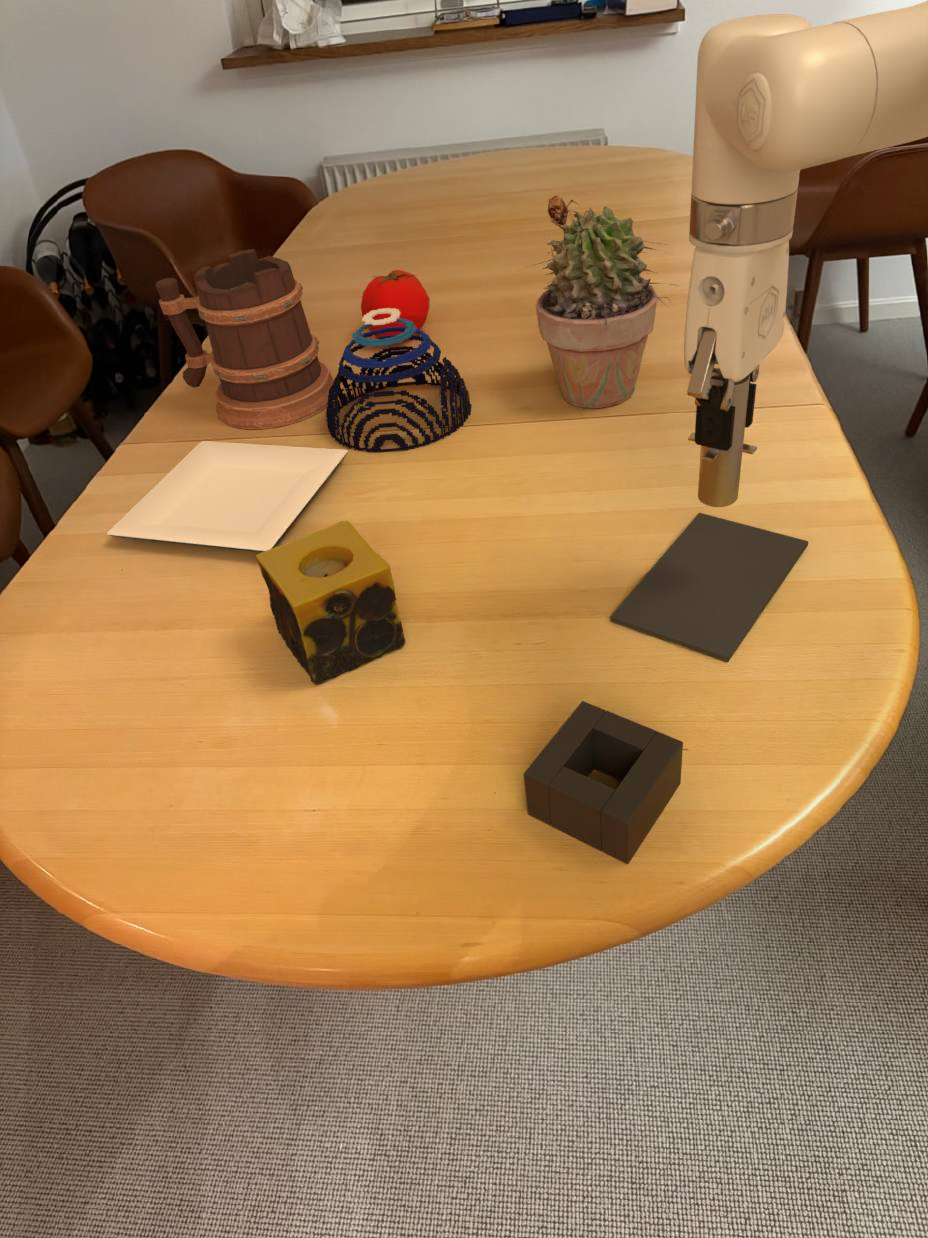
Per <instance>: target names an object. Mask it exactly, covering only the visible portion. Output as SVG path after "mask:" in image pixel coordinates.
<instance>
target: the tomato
mask: <svg viewBox="0 0 928 1238" xmlns="http://www.w3.org/2000/svg"><path fill="white" fill-rule="evenodd" d="M384 308H390V309H392V308H395V309H397V310H398V309H399V312H400V317H399V319H404V320H405V319H407V320H409V321H412V323H414V325H415V327H417V329H419V330H421V328H423V327H424V324H425V323H426V321H427V318H428V314H429V310H430V297H429V294H428V293H427V291H426V289H425V287H424V286H423V284H422V282H421V281H420V280H419V279H418V278H417V276H416V275H415V274H414V273H411V272H408V271H405V270H401V269H395V270H392V271H390V272H389V273H388V274H387V275H378V276H375V277H373V278H372V279H371V281H369V282H368V284H367V285H366V287H365V289H364V290H363V291H362V297H361V303H360V310H361V315H362V316H361V317H362V318H363V317H364V315H366V314H367V313H369V311H372V310H378V309H384ZM388 317H391V314H389V313H385V314H377V315H375V316H374V317H372V318H373V319H374V320H380V319H384V318H388ZM365 325H367V324H365ZM399 326H401V327H406V325H405V324H404V323H403V324H402V323H399V322H390V323H386V324H384V325H374V326H371V327H368V328H367V329H368V330H369V332H370V331H374V330H378V329H382V328H388V327H399ZM402 333H404V332H400V331H398V332H387V333H385V334H377V335H374V337H375V338H378V337H383V336H392V335H399V334H402ZM413 335H415V336H416V335H417V333H414V334H413Z"/></svg>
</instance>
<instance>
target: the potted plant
mask: <svg viewBox="0 0 928 1238" xmlns="http://www.w3.org/2000/svg"><path fill="white" fill-rule="evenodd" d="M572 203H575V204H576V205H579V206H580V204H579V203H578V202H576V201H574V200H573V199H570V201H569V202H568V204H567V205H566V202H565V200H564V199H563V198H562V197H560V196H558V195H554V196H552V197H550V198H549V199H548V203H547V204H548V205H547V214H548V216H549V217H550V222H551V223H552V224H554V225H555V226H556V227H558V228H559V229H560V230H562V232H563V238H562V240H555V239H552V240H551V241H550V242H548V243H547V242H546V245H549V246H551V247H550V249H551V251H548V252H547V254H550V253H551V257H552V258H551V259H548V260H546V261H545V260H544V261H543V262H539V263H535V264H532V265H529V266H526V267H523V268H521V269H518V270H517V272H518V271H520V270H524V269H527V268H529V267H533V266H536V265H540V264H544V263H547V262H548V263H547V266H545V267H543V268H541V269H539V271H541V270H544V269H545V270H546V269H548V270H550V271H551V272H550V273H547V274H546V276H548V275H553V274H554V275H555V277H554V278H553V279H552V280H551V282H550V283H549V282H547V286H545V287H544V290H545V291H543V292H542V293H541V295H540V296H539V297H538V298H537V300H536V303H535V311H536V317H537V323H538V330H539V333H540V334H539V335H540V337H541V338H542V341H544V342H545V343H546V345H547V348H548V352H549V356H550V359H551V362H552V365H553V369H554V372H555V376H556V379H557V382H558V385H559V388H560V392H561V395H562V397H563V400H564V401H565V402H566V403H568V404H570V405H571V406H574V407H577V408H582V409H591V410H592V409H594V410H598V409H603V408H604V409H605V408H610V407H613V406H618V405H622V404H623V403H624V402H626V401H627V400H630V399H631V397H632V396H633V394H634V392H635V390H636V389H635V388H636V385H637V381H638V377H639V373H640V369H641V365H642V361H643V357H644V352H645V349H646V345H647V341H648V338H649V335H650V334H651V333H652V332H654V327H655V320H656V312H657V306H658V305H657V304H658V301H660V302H661V303H663V300H662V299H669V301H671V299H670V298H669V297H668V296H664V297H663V296H660V297H658V293H657V292H656V289H655V288H654V286H653V285H656V284H657V285H658V284H659V285H660V284H661V285H662V284H663V285H665V284H666V283H664V282H663V283H662V282H651V280H652V279H651V278H648V279H646V278H643V277H642V276H641V275H640V274H641V273H643V272H645V273H647V274H648V272H652V273H654V274H657V275H659V273H657V272H656V271H652V270H651V269H647V267H648V265H647V263H645V262H644V260H642V259H641V258H640V257H639V256H638V255H640V254H641V253H644V254H647V252H646V251H643V250H644V249H645V250H654V251H657V249H656V248H651V247H649V246H645V243H648V241H647V240H643V237H641V236H635V233H634V230H633V225H634V224H633V223H634V219H632V217H631V216H629V217H628V218H622V219H618V218H617V217H615V214H614V212H613V210H612V209H611V208H608V207H607V206H606V205H604V207H603V210H602V214H599V215H596V213H595V212H594V211H593V209H592V208H591V207H589V210H588V209H587V210H586V211H585V212H584V214H583V215H582V214H581V213H579V212H578V211H575V210H572V211H571V209H570V208H569V206H570V205H571V204H572ZM568 208H569V209H568ZM572 212H573V213H574V214H573V218H572V217H570V218H571V223H570V225H567V220H568V215H569V214H570V216H572ZM586 214H587V215H586ZM574 218H576V220H575V219H574ZM649 243H652V244H654V241H649ZM658 244H659V245H662V243H661V242H660V243H659V242H657V245H658ZM665 245H666V246H667V245H669V244H667V243H665ZM658 251H660V252H661V250H659V249H658ZM554 252H555V253H556V254H555V255H554ZM665 253H667V254H668V252H666V251H665ZM550 261H551V262H550ZM669 285H672V286H675V284H673V283H671V284H670V283H669ZM676 286H678V287H680V284H679V285H678V284H676ZM664 305H665V306H667V304H666V303H664ZM667 307H668V306H667Z"/></svg>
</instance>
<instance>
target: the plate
mask: <svg viewBox="0 0 928 1238" xmlns="http://www.w3.org/2000/svg"><path fill="white" fill-rule="evenodd" d="M348 452H349V450H347V449H341V448H327V447H326V448H324V447H309V446H294V445H293V446H292V445H291V446H290V445H276V444H262V443H261V444H259V443H244V442H242V443H241V442H226V441H213V440H212V441H211V440H209V441H208V440H202V441H199V443H198V444H197V445H196V446H195V447H194V448H193V449H192V450H191V451H189V452H188V453H187V454H186V455H185V456H184V458H182V459H181V460H180V461H179V462H178V463H177V464H176V465H175V466H174V467H173V468H172V469H171V470H170V471H169V472H167V474H166V475H165V476H164V477H163V478H161V480H159V481H158V483H156V484H155V485H154V486H153V487H152V489H150V490H149V491H148V492H147V493H146V494H145V495H144V496H143V497H142V498H140V500H139V501H138V502H137V503H136V504H135V505H134V506H133V507H132V508H130V509H129V511H128V512H126V513H125V515H123V516H122V518H120V519H119V520H118V521H117V522H116V523H115V524H113V526H112V527H111V528H110V529H109V530H108V531H107V532H106V535H107V536H110V537H114V538H124V539H133V540H143V541H154V542H163V543H173V544H182V545H191V546H201V547H210V548H218V549H219V548H220V549H228V550H229V549H231V550H238V551H239V550H240V551H249V552H258V553H261V552H264V551H267V550H270V549H272V548H275V547H276V545H277V544H278V542H279V541H280V539H281V538H282V537H283V536H284V534H285V533H286V532H287V531H288V529H289V528H290V527H291V525H293V523H294V522H295V521H296V519H297V518H298V517H299V515H300V514H301V513H302V511H303V510H304V509H305V508H306V506H307V505H308V504H309V503H310V502H311V500H312V499H313V498H314V496H315V495H316V494H317V493H318V491H319V489H320V488H321V487H322V486H323V484H324V483H325V482H326V481H327V480H328V478H330V476H331V475H332V473H333V472H334V471H335V470H336V469H337V467H338V466H339V464H340V463H341V462H342V461H343V459H344V458H345V457H346V455H347V453H348Z"/></svg>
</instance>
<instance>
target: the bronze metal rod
mask: <svg viewBox="0 0 928 1238" xmlns="http://www.w3.org/2000/svg"><path fill="white" fill-rule="evenodd" d="M749 382H750V375H748V376H746V377H745V378H744V379H742V380H741V381H739V382H735V383H734V390H733V396H732V403H731V406H734V407H735V418H734V429H733V440H732V447H731V448H730V449H729V450H728V451H723V450H719V449H714V448H710V447H705V446H701V445H700V457H699V470H698V486H697V487H698V488H697V498H698V501H699V502H701V503H702V504H704V505H706V506H709V507H713V508H725V507H729V506H732V505H733V504H735V503H736V502H737V501H738V500H739V499H738V498H739V491H740V481H741V472H742V471H741V470H742V460H743V453H744V454H748V455H754V453H755V452H756V451H757V450H758V446H757V445H754V444H753V445H752V444H748V443H745V442H744V441H745V432H746V431H745V430H746V428H745V422H746V412H747V402H748V392H749ZM750 383H751V382H750ZM711 385H713V386H718V387H719V388H720V390H721V391H722V388H723V381H721V380H716V379H711ZM687 441H688V442H689V441H690V442H694V443H695V432H692V433H691V434H690V435H689V436H688V439H687Z"/></svg>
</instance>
